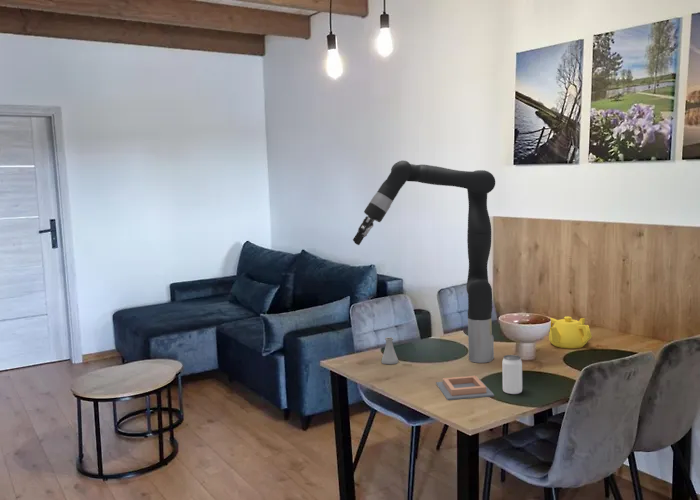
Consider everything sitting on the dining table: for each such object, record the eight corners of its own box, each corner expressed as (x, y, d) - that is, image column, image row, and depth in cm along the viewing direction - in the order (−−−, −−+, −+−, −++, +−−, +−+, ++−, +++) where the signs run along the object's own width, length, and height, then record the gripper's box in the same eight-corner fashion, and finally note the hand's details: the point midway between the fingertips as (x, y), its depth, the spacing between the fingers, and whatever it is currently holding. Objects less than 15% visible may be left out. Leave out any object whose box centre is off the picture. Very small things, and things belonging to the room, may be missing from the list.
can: (500, 388, 210) (499, 355, 209) (518, 387, 211) (517, 353, 209) (506, 395, 204) (505, 360, 202) (525, 393, 204) (524, 359, 203)
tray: (479, 380, 219) (479, 373, 219) (494, 396, 203) (493, 388, 203) (436, 383, 218) (435, 376, 217) (447, 400, 202) (447, 392, 202)
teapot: (592, 350, 248) (592, 321, 246) (550, 350, 251) (550, 321, 249) (584, 339, 264) (584, 312, 263) (544, 339, 267) (544, 312, 266)
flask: (397, 365, 241) (396, 340, 240) (379, 364, 242) (378, 340, 241) (399, 359, 248) (399, 335, 247) (382, 359, 250) (381, 335, 248)
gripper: (386, 209, 222) (363, 246, 222) (387, 214, 236) (364, 249, 236) (369, 198, 223) (345, 236, 223) (370, 204, 237) (348, 239, 237)
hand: (355, 243), depth 229 cm, fingers open, 8 cm apart
